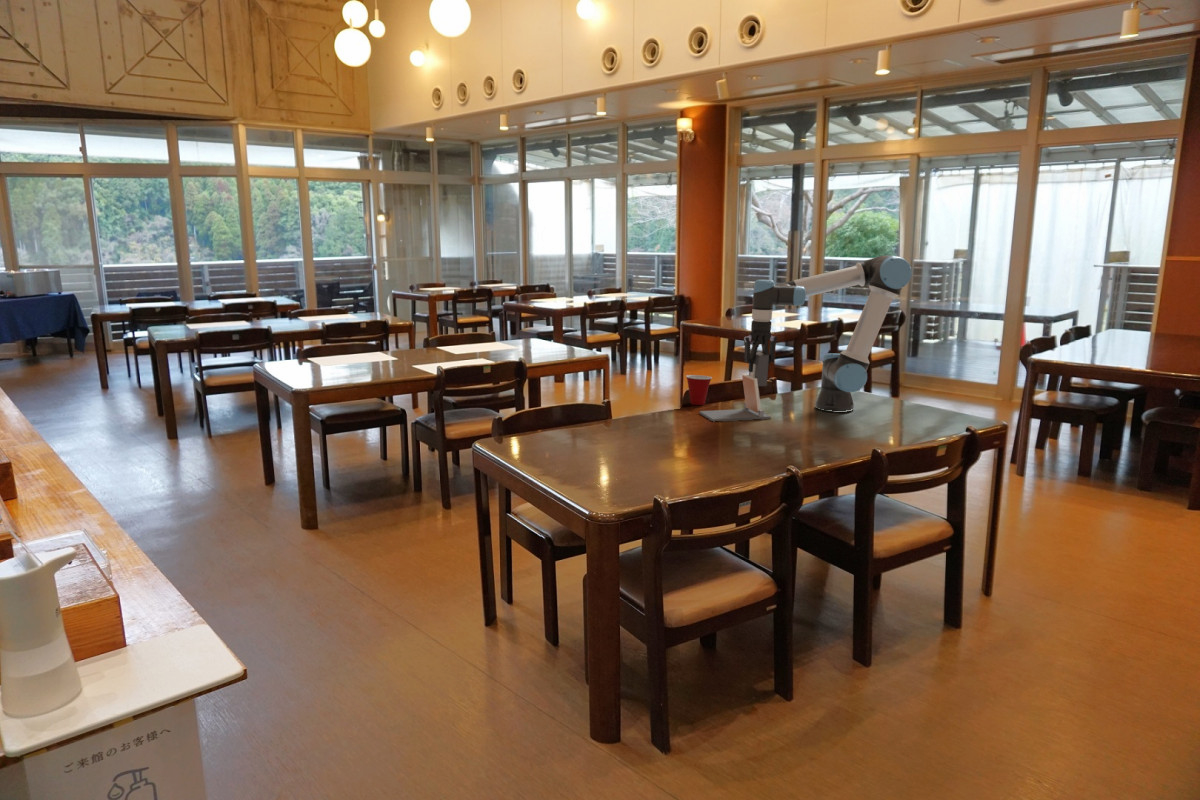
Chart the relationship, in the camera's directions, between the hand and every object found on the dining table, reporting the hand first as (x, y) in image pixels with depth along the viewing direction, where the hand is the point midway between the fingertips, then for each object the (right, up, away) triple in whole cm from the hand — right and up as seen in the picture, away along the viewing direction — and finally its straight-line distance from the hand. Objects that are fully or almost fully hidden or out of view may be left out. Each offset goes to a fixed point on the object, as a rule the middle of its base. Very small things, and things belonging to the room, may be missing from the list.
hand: (757, 379), depth 306 cm
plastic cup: (-21, -10, +22) cm, 32 cm away
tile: (-1, -12, +2) cm, 12 cm away
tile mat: (-9, -14, +1) cm, 17 cm away
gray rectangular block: (0, -2, 0) cm, 2 cm away
